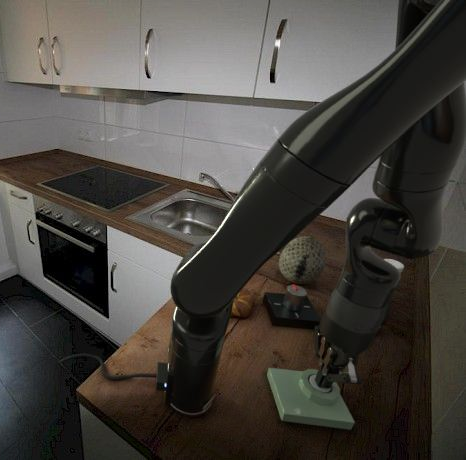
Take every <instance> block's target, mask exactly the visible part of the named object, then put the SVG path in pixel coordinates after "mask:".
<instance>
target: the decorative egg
mask: <svg viewBox="0 0 466 460" xmlns="http://www.w3.org/2000/svg"><path fill="white" fill-rule="evenodd" d="M326 261H327V257H326V251H325V248H324V246H323V244H322V243H321V242H320V241H319V240H317V238H314V237H312V236H307V235H306V236H304V235H303V236H299V237H295V238H294V239H293V240H291V241H290V242H289V243H288V244H287V245H286V246H285V247H283V248H282V251H281V253H280V256H279V260H278V267H279V270H280V271H279V272H280V273H281V274H282V276H283V277H284V279H286V280H287V281H289V282H290V283H292V284H295V285H309V284H310V283H313V282H315V281H316V280H317V279H319V278H320V276H321V275H322V274H323V272H324V270H325V267H326Z"/></svg>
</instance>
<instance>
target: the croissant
mask: <svg viewBox="0 0 466 460" xmlns="http://www.w3.org/2000/svg"><path fill="white" fill-rule="evenodd" d="M255 305H256V299H255V298H254V297H253V295H252V294H251V292H250V291H249V289H247V288H245V287H244V288H243V289H242V290H241V291H240V292H239V294H238V295H237V296H236V297H235V299H234V303H233V307H232V312H231V316H230V317H240V318H247V317H249V316H250V315H251V314H252V311H253V310H252V307H255Z"/></svg>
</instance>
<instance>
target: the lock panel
mask: <svg viewBox="0 0 466 460" xmlns="http://www.w3.org/2000/svg"><path fill="white" fill-rule="evenodd" d="M285 294H286V293H283V292H282V293H281V292H269V291H267V292H266V291H264V294H263V297H262V302H263V305H264V308H265V310H266V313H267V314H268V317H269V320H270V322H271V325H272V327H279V328H290V329H291V328H292V329H299V330H310V331H315V326H319V324H320V321H321V319H322V317H320V314H319V313H318V311H317V310H316V308H315V307H314V305H313V303H312V302H311V300H310V299H309V297H308V295H306V297H305V300H304V303H303V306H302V309H301V310H300V311H291V310H289V309H287V308H286V307H284V305H283V301H284V297H285Z"/></svg>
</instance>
